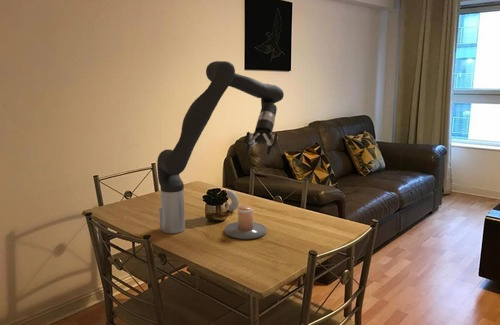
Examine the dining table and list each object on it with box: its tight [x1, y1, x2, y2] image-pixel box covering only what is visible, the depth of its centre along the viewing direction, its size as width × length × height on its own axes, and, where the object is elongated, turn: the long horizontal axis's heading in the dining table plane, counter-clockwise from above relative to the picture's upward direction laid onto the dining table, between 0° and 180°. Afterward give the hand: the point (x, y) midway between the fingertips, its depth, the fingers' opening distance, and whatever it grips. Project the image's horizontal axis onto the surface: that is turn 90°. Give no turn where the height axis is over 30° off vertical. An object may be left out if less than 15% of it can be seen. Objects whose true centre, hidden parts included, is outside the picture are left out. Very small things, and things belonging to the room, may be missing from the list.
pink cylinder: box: [237, 204, 254, 231], centre depth 170 cm, size 6×6×9 cm
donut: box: [225, 189, 240, 212], centre depth 195 cm, size 10×4×10 cm, turn 50°
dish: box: [224, 221, 267, 240], centre depth 171 cm, size 17×17×1 cm
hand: (257, 153), depth 177 cm, fingers open, 8 cm apart
